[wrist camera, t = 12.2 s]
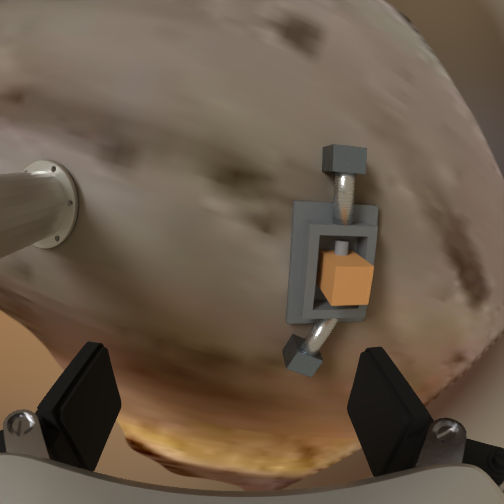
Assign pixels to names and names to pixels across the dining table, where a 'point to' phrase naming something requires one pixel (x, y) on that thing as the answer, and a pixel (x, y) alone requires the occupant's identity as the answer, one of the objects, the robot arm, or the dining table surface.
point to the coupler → (344, 276)
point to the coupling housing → (307, 255)
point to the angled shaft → (308, 348)
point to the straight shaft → (344, 178)
